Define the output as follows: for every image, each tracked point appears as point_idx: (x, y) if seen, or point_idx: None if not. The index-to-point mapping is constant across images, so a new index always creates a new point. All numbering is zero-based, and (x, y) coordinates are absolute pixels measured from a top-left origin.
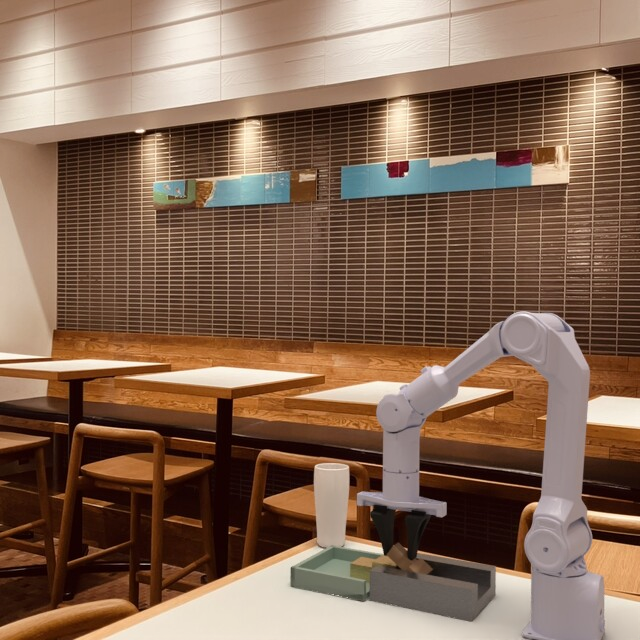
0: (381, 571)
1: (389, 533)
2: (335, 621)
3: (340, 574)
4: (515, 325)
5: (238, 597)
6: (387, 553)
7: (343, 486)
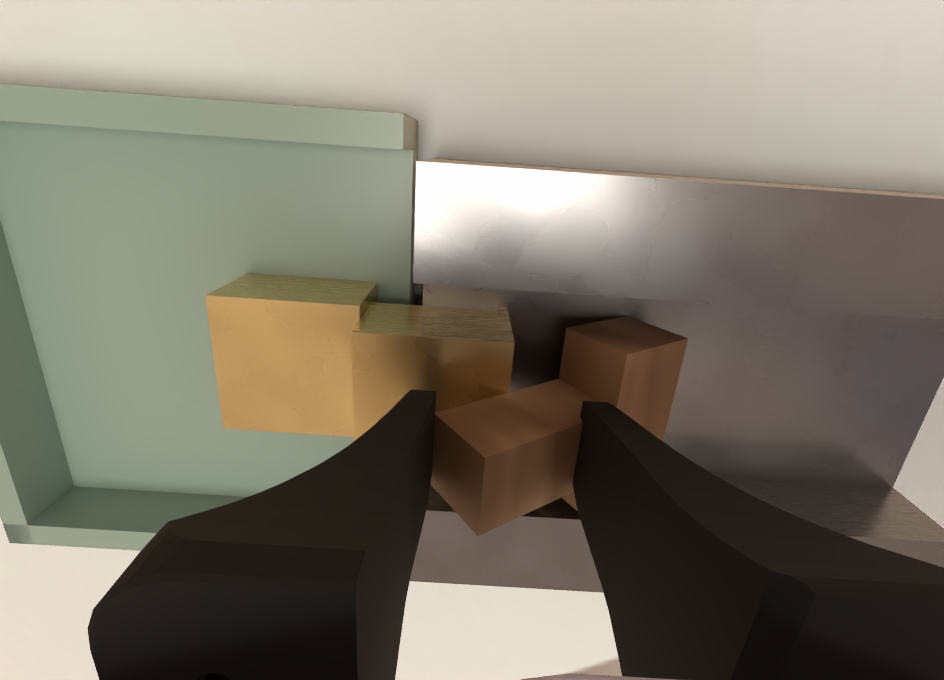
0: (463, 570)
1: (408, 519)
2: (400, 657)
3: (185, 354)
4: None
5: (23, 626)
6: (436, 490)
7: None
